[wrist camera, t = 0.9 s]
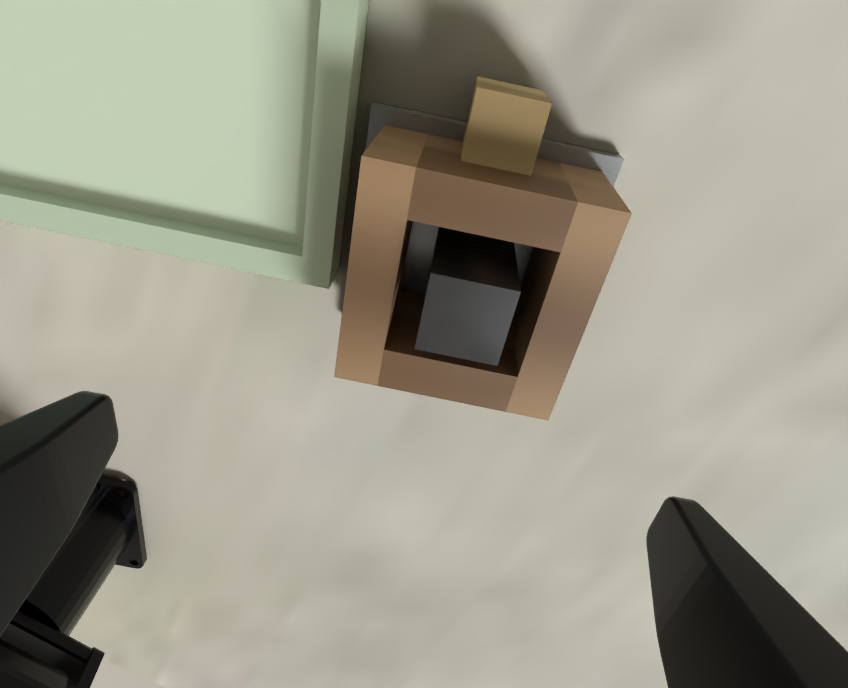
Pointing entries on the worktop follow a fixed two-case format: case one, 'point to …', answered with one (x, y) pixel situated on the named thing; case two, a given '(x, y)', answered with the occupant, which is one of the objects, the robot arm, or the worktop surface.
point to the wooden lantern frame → (487, 216)
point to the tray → (184, 126)
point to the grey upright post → (469, 255)
